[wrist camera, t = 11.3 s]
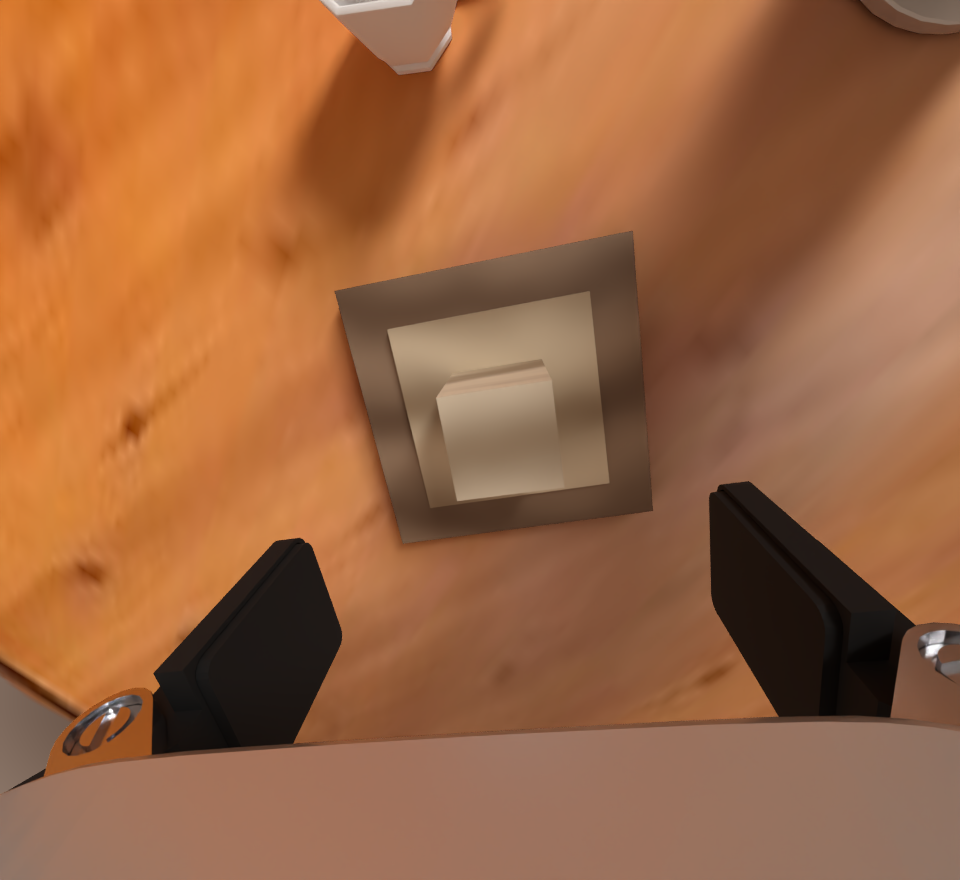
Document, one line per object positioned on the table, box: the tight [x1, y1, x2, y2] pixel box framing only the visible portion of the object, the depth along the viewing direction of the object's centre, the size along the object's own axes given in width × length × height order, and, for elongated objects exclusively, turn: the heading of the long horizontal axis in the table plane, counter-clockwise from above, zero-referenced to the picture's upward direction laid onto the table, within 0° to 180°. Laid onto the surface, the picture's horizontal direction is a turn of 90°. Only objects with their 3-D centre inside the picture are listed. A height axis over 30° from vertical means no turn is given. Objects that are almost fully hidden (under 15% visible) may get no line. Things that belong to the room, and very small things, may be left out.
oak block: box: [436, 359, 565, 501], centre depth 23 cm, size 5×5×6 cm
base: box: [335, 231, 653, 544], centre depth 27 cm, size 16×16×2 cm
